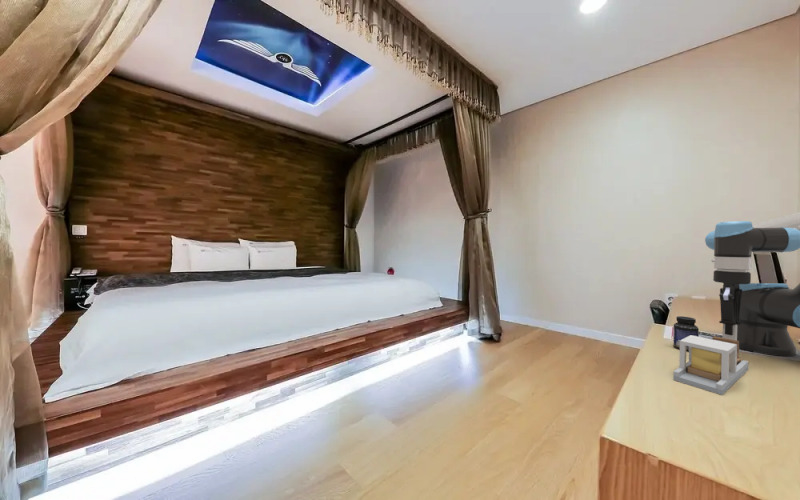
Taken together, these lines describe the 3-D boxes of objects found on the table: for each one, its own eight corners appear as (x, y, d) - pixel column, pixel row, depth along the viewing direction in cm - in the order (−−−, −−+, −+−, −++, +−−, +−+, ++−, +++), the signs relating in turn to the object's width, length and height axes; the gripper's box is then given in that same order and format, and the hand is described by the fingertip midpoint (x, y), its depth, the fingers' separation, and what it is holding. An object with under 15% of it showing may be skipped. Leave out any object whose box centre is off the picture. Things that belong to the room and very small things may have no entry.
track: (704, 358, 88) (705, 327, 88) (748, 369, 81) (748, 335, 81) (673, 379, 75) (673, 343, 75) (721, 395, 67) (722, 354, 67)
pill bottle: (703, 353, 93) (704, 320, 93) (682, 351, 94) (682, 319, 94) (688, 346, 99) (689, 316, 99) (668, 345, 100) (669, 315, 100)
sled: (711, 355, 87) (712, 334, 87) (741, 363, 82) (741, 339, 82) (687, 372, 77) (687, 347, 76) (720, 381, 71) (720, 355, 71)
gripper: (719, 268, 93) (717, 337, 94) (707, 270, 87) (705, 344, 87) (755, 270, 87) (753, 344, 87) (745, 272, 80) (743, 352, 81)
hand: (729, 344), depth 87 cm, fingers closed
